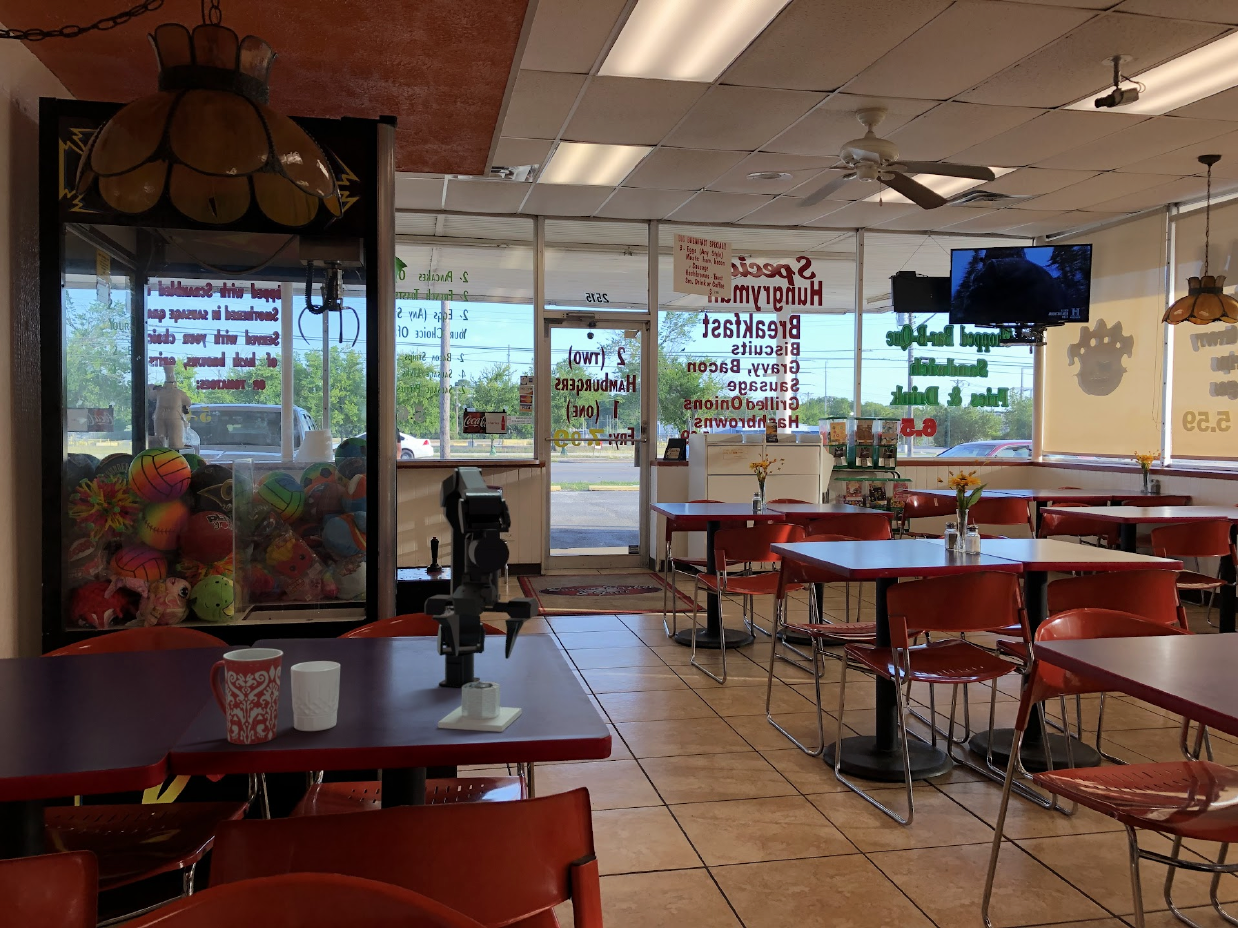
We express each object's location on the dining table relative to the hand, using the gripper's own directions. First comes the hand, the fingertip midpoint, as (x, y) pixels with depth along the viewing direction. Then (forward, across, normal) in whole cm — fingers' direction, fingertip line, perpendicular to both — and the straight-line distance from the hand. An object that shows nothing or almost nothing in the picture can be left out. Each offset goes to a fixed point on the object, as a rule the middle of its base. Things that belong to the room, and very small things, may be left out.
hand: (481, 657), depth 161 cm
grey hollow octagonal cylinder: (+10, 0, 0) cm, 10 cm away
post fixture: (+11, 0, 0) cm, 11 cm away
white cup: (+11, -26, -8) cm, 30 cm away
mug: (+11, -34, -16) cm, 39 cm away
